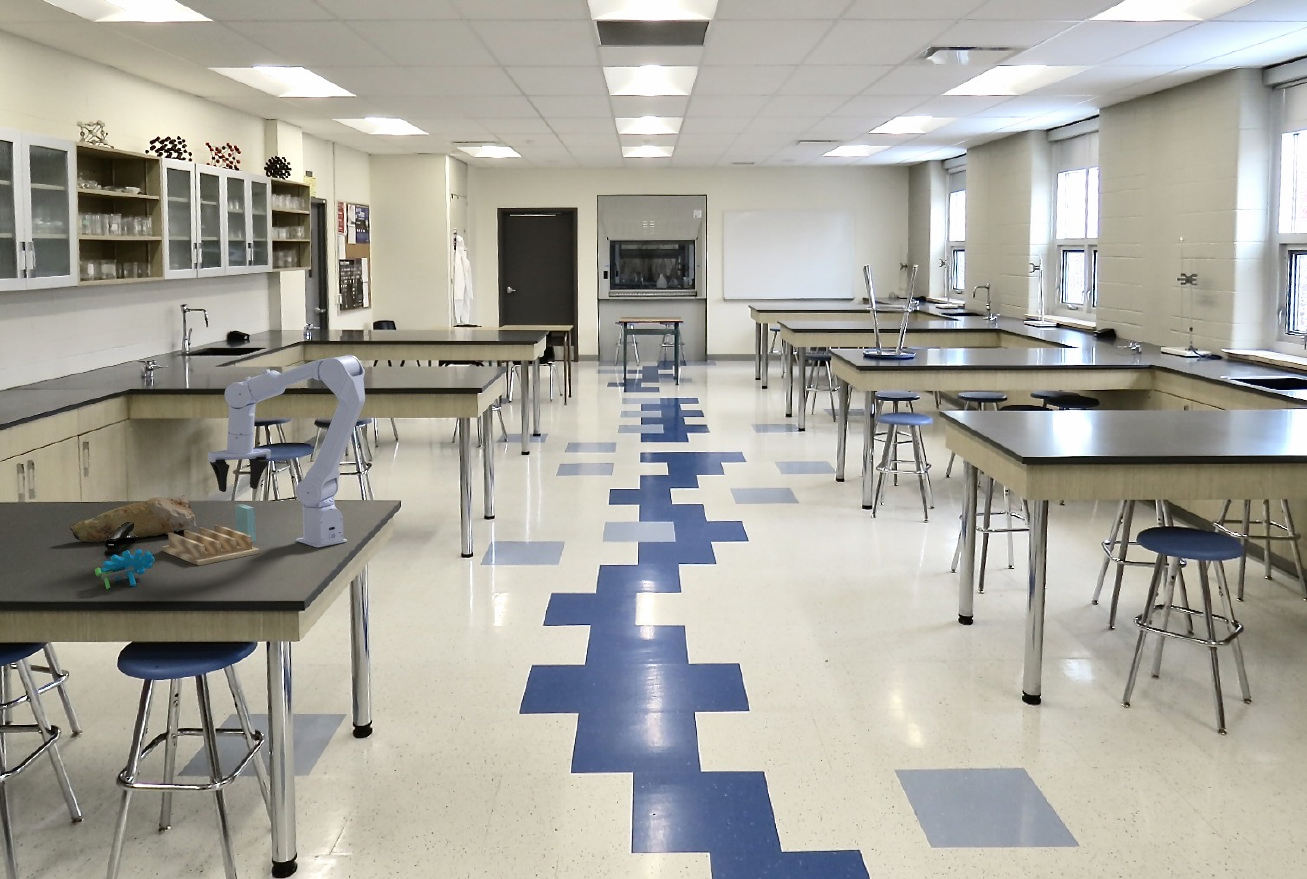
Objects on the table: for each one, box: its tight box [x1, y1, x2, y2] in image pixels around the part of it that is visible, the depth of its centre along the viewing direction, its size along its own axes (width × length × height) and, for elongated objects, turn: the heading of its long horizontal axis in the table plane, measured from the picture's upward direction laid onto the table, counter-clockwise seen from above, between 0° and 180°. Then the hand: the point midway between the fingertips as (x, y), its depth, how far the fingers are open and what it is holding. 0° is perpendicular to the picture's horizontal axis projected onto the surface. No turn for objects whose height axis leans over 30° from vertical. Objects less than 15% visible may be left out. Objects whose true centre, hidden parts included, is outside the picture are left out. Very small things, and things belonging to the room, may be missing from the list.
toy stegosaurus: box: [94, 548, 156, 590], centre depth 226 cm, size 11×6×10 cm
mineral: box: [69, 494, 197, 543], centre depth 264 cm, size 26×9×10 cm
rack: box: [161, 524, 261, 566], centre depth 251 cm, size 18×14×4 cm
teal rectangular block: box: [234, 503, 257, 543], centre depth 262 cm, size 6×2×8 cm, turn 47°
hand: (238, 489), depth 263 cm, fingers open, 7 cm apart
